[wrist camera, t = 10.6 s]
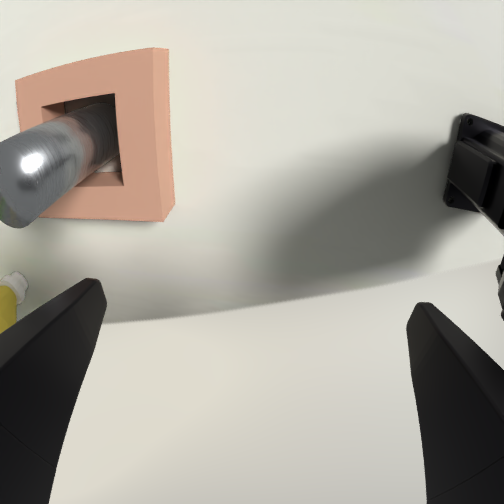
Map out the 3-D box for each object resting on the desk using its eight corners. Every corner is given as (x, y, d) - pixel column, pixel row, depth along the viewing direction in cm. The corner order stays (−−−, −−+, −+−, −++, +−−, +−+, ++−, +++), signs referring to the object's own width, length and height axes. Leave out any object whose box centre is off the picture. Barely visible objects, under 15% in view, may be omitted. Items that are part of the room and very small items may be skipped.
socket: (168, 48, 14) (152, 47, 12) (175, 203, 20) (163, 221, 18) (38, 75, 15) (15, 80, 13) (57, 201, 21) (39, 217, 18)
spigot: (124, 99, 16) (26, 138, 9) (129, 159, 18) (47, 229, 11) (73, 106, 16) (-27, 150, 9) (80, 162, 19) (-7, 227, 11)
